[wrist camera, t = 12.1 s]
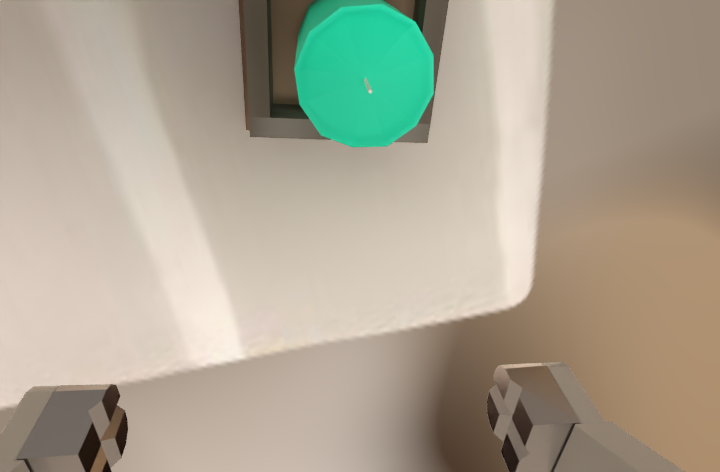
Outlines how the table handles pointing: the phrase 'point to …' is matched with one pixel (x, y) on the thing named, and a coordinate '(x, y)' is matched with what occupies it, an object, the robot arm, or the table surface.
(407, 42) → the candle
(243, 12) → the holder
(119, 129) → the table surface
